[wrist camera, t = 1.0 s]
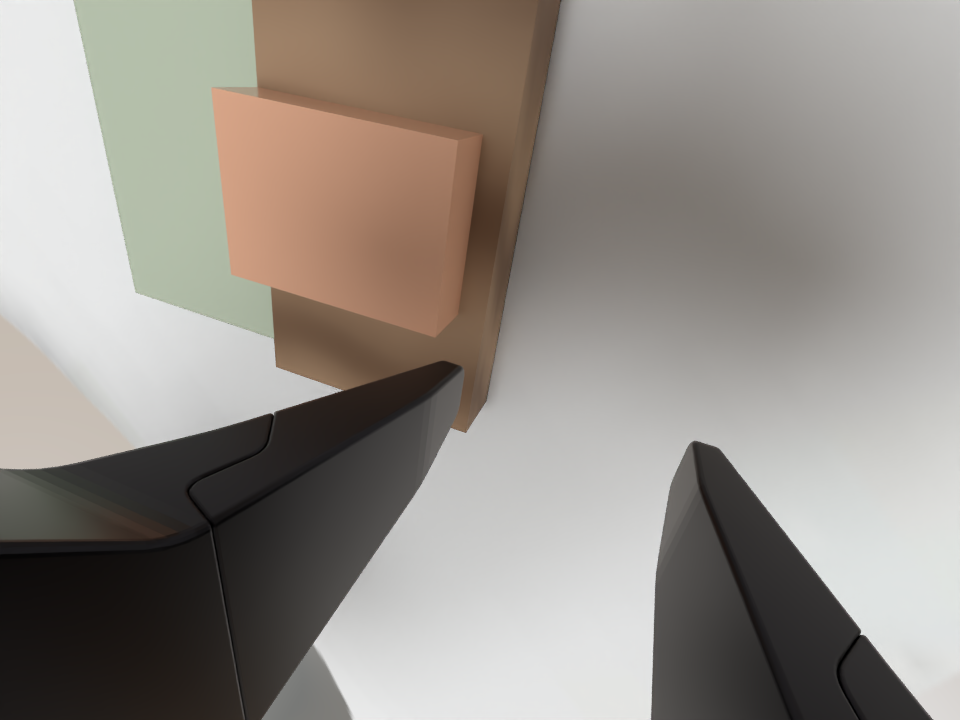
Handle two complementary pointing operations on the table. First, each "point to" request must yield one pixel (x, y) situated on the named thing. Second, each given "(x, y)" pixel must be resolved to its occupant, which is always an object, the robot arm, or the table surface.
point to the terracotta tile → (347, 204)
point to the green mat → (173, 144)
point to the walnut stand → (428, 98)
